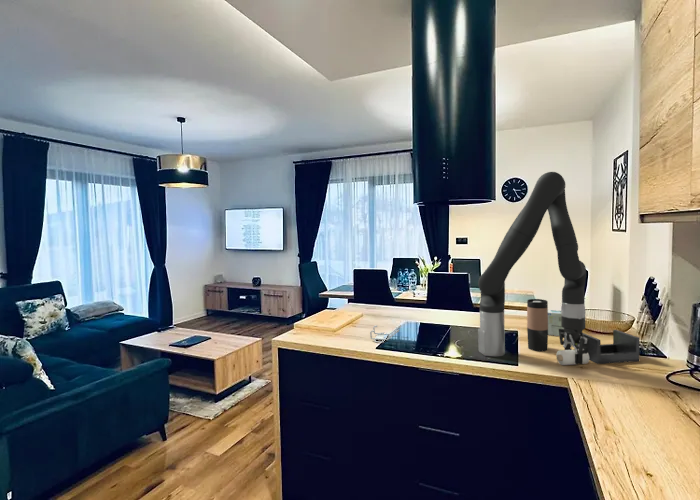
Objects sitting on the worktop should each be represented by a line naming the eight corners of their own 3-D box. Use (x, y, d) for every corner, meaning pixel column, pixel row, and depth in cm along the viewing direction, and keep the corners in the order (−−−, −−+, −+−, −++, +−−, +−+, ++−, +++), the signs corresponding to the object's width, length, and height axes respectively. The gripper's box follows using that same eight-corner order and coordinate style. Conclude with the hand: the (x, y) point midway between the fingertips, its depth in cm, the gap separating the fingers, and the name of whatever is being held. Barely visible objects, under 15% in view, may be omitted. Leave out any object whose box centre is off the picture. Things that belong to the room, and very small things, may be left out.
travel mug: (547, 346, 157) (547, 299, 156) (548, 352, 150) (548, 302, 149) (527, 345, 160) (526, 298, 159) (527, 350, 153) (527, 301, 152)
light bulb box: (565, 333, 175) (565, 310, 174) (565, 337, 169) (564, 313, 169) (540, 330, 181) (540, 308, 180) (538, 334, 175) (538, 311, 174)
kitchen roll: (564, 356, 133) (555, 347, 138) (561, 368, 135) (552, 359, 140) (593, 354, 134) (583, 345, 139) (590, 366, 136) (580, 357, 141)
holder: (597, 364, 136) (597, 340, 136) (577, 354, 147) (577, 331, 147) (639, 361, 137) (639, 337, 137) (616, 351, 148) (616, 329, 148)
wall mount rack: (374, 333, 186) (374, 322, 186) (402, 334, 183) (401, 322, 183) (369, 343, 171) (368, 330, 171) (399, 344, 168) (398, 331, 167)
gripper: (551, 311, 143) (551, 355, 144) (576, 320, 129) (576, 368, 130) (570, 310, 144) (570, 353, 144) (597, 319, 129) (597, 367, 130)
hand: (573, 360), depth 137 cm, fingers closed on kitchen roll, 5 cm apart
